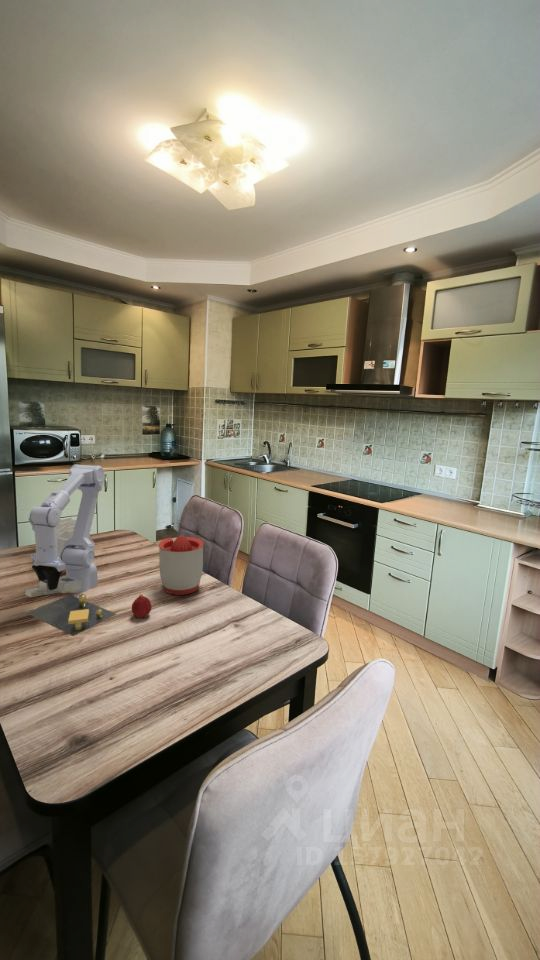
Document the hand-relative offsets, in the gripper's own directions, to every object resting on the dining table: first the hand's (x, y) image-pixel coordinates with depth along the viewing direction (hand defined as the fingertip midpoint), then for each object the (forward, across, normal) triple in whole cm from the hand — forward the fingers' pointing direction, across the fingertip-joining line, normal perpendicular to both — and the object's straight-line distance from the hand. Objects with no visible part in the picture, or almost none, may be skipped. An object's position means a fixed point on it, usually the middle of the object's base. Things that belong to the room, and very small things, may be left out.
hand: (49, 587), depth 127 cm
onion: (+8, +26, +13) cm, 30 cm away
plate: (+8, +8, +2) cm, 11 cm away
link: (+2, 0, +1) cm, 2 cm away
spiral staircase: (+9, -31, +27) cm, 42 cm away
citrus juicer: (+8, +21, +36) cm, 43 cm away
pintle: (+7, +6, +7) cm, 12 cm away
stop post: (+7, +16, +5) cm, 19 cm away
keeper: (+7, +15, -1) cm, 17 cm away
